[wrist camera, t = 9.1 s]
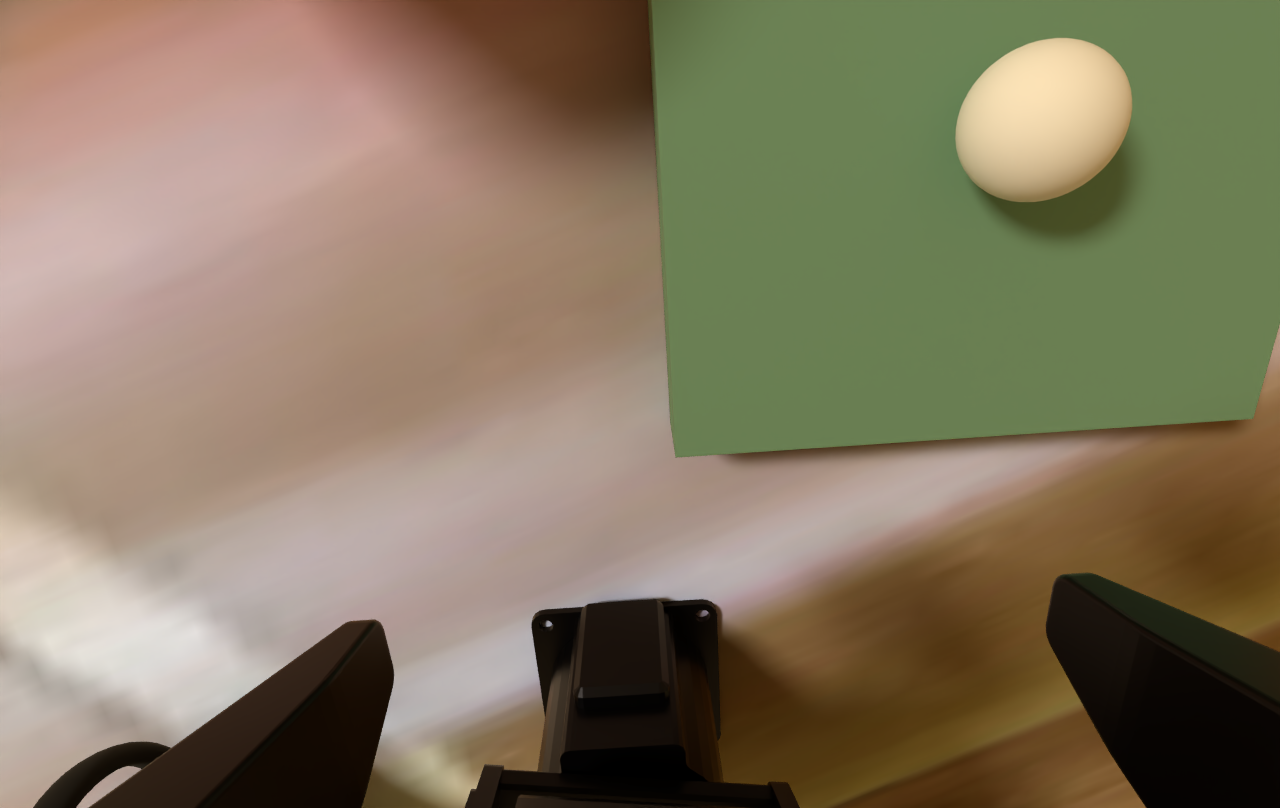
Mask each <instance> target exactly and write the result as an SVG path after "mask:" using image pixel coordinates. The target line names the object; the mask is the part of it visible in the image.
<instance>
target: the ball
mask: <svg viewBox="0 0 1280 808" xmlns="http://www.w3.org/2000/svg"><path fill="white" fill-rule="evenodd" d="M1131 114H1132V94H1131V88H1130V84H1129V81H1128V78H1127V76H1126V74H1125V72H1124V70H1123V69H1122V67H1121V65H1120V64H1119V63H1118V62H1117V61H1116V60H1115V59H1114V58H1113V57H1112V56H1111V55H1110V54H1109V53H1108V52H1106V51H1105V50H1104V49H1102V48H1100V47H1098V46H1096V45H1094V44H1092V43H1089V42H1086V41H1083V40H1078V39H1072V38H1052V39H1045V40H1039V41H1036V42H1032V43H1029V44H1026V45H1024V46H1022V47H1019V48H1017V49H1015V50H1013V51H1011V52H1009V53H1008V54H1006V55H1004V56H1003V57H1001V58H1000V59H999V60H997V61H996V62H995V63H993V64H992V65H991V66H990V67H989V68H988V69H987V70H986V71H985V72H983V74H982V75H981V76H980V77H979V78H978V80H977V81H976V82H975V83H974V85H973V86H972V88H971V89H970V91H969V92H968V94H967V96H966V98H965V99H964V101H963V104H962V106H961V109H960V112H959V115H958V119H957V124H956V135H955V140H956V149H957V154H958V157H959V160H960V163H961V165H962V167H963V169H964V170H965V172H966V174H967V175H968V176H969V177H970V179H971V180H972V181H973V182H974V183H975V184H976V185H977V186H978V187H980V188H981V189H983V190H984V191H986V192H987V193H989V194H991V195H993V196H995V197H998V198H1001V199H1005V200H1008V201H1014V202H1038V201H1044V200H1049V199H1052V198H1056V197H1059V196H1062V195H1064V194H1067V193H1069V192H1071V191H1073V190H1075V189H1077V188H1079V187H1080V186H1082V185H1084V184H1085V183H1087V182H1088V181H1089V180H1091V179H1092V178H1093V177H1094V176H1095V175H1097V174H1098V173H1099V172H1100V171H1101V170H1102V169H1103V168H1104V167H1105V166H1106V165H1107V164H1108V163H1109V162H1110V160H1111V159H1112V158H1113V157H1114V155H1115V154H1116V152H1117V151H1118V149H1119V147H1120V146H1121V144H1122V142H1123V140H1124V138H1125V135H1126V133H1127V130H1128V127H1129V124H1130V120H1131Z"/></svg>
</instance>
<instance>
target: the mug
mask: <svg viewBox="0 0 1280 808" xmlns="http://www.w3.org/2000/svg"><path fill="white" fill-rule="evenodd" d="M169 749H171V748H170V747H167V746H164V745H161V744H158V743H153V742H129V743H124V744H120V745H116V746H113V747H110V748H107V749H105V750H102V751H100V752H97V753H95V754H94V755H92V756H90V757H88V758H87V759H85V760H83V761H81V762H80V763H78V764H77V765H75V766H74V767H73V768H71V769H70V770H69V771H67V772H66V773H65V774H64V775H62V776H61V777H60V778H59V779H58V780H57V781H56V782H55V783H54V784H53V785H52V786H51V787H50V788H49V789H48V790H47V791H46V792H45V793H44V795H43V796H42V797H41V798H40V799H39V800H38V802H37V803H36V804H35V806H34V807H33V808H76V807H77V805H78V804H79V803H80V802H81V800H82V799H83V798H84V797H85V796H86V795H87V793H88V792H89V791H90V790H91V789H92V788H93V787H94V786H95V785H96V784H98V783H99V782H100V781H101V780H103V779H104V778H105V777H106V776H108V775H109V774H111V773H113V772H114V771H116V770H117V769H120V768H122V767H126V766H134V767H138V768H141V769H143V768H144V767H146V766H147V765H149V764H150V763H151V762H153V761H154V760H155V759H157V758H158V757H160V756H161V755H162V754H164V753H165V752H167V751H168V750H169Z"/></svg>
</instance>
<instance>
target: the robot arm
mask: <svg viewBox="0 0 1280 808" xmlns="http://www.w3.org/2000/svg"><path fill="white" fill-rule="evenodd" d="M700 610H706V611H708V612H709V613H708V614H707V615H706V616H704V617H698V616H697V615H696V613H697V612H698V611H700ZM543 620H548V621H550V622H552V624H553V625H552V626H550V627H543V626H542V625H541V624H540V622H541V621H543ZM1046 633H1047V638H1048V641H1049V643H1050V645H1051V647H1052V649H1053V651H1054V653H1055V655H1056V657H1057V658H1058V660H1059V662H1060V664H1061V666H1062V668H1063V669H1064V671H1065V673H1066V675H1067V677H1068V678H1069V680H1070V682H1071V684H1072V686H1073V688H1074V689H1075V691H1076V693H1077V695H1078V697H1079V699H1080V700H1081V702H1082V704H1083V706H1084V708H1085V710H1086V711H1087V713H1088V715H1089V717H1090V719H1091V720H1092V722H1093V724H1094V726H1095V728H1096V730H1097V731H1098V733H1099V735H1100V737H1101V738H1102V740H1103V742H1104V744H1105V745H1106V747H1107V749H1108V750H1109V752H1110V754H1111V755H1112V757H1113V758H1114V760H1115V761H1116V763H1117V765H1118V766H1119V768H1120V769H1121V771H1122V772H1123V774H1124V775H1125V777H1126V778H1127V780H1128V781H1129V783H1130V784H1131V786H1132V787H1133V789H1134V790H1135V792H1136V793H1137V795H1138V796H1139V798H1140V799H1141V800H1142V802H1143V803H1144V805H1145V806H1146V808H1280V652H1278V651H1276V650H1274V649H1271V648H1269V647H1267V646H1264V645H1262V644H1259V643H1257V642H1255V641H1252V640H1250V639H1248V638H1245V637H1243V636H1240V635H1238V634H1236V633H1233V632H1231V631H1229V630H1226V629H1224V628H1222V627H1219V626H1217V625H1214V624H1212V623H1210V622H1207V621H1205V620H1203V619H1200V618H1198V617H1195V616H1193V615H1191V614H1188V613H1186V612H1184V611H1181V610H1179V609H1176V608H1174V607H1172V606H1169V605H1167V604H1165V603H1162V602H1160V601H1158V600H1155V599H1153V598H1150V597H1148V596H1146V595H1143V594H1141V593H1139V592H1136V591H1134V590H1131V589H1129V588H1127V587H1124V586H1122V585H1120V584H1117V583H1115V582H1113V581H1110V580H1108V579H1105V578H1103V577H1101V576H1098V575H1096V574H1093V573H1075V574H1063V575H1060V576H1058V577H1057V578H1056V580H1055V581H1054V584H1053V588H1052V594H1051V599H1050V605H1049V610H1048V616H1047V621H1046ZM532 634H533V640H534V647H535V653H536V660H537V667H538V673H539V680H540V686H541V693H542V699H543V706H544V713H545V724H544V730H543V737H542V744H541V751H540V757H539V764H538V771H521V770H504V766H502V765H486V764H485V765H484V768H483V771H482V774H481V777H480V780H479V783H478V786H477V789H471V791H470V794H469V797H468V800H467V803H466V806H465V808H800V807H799V805H798V803H797V801H796V799H795V796H794V794H793V792H792V790H791V788H790V786H789V784H788V783H786V782H768V785H756V784H739V783H724V781H723V775H722V768H721V761H720V755H719V748H718V742H717V741H718V740H719V738H720V735H721V732H720V700H719V667H718V635H717V613H716V608H715V605H714V604H713V603H712V602H710V601H708V600H703V599H699V600H683V601H668V602H659V601H657V600H655V599H653V600H638V601H622V602H607V603H592V604H588V605H586V606H585V607H576V608H561V609H545V610H541V611H539V612H537V613H536V614H535V615H534V617H533V620H532ZM393 682H394V669H393V664H392V660H391V656H390V652H389V648H388V644H387V640H386V636H385V632H384V629H383V626H382V624H381V623H380V622H379V621H377V620H359V621H349V622H347V623H345V624H343V625H342V626H340V627H339V628H338V629H336V630H335V631H333V632H332V633H331V634H329V635H328V636H327V637H325V638H324V639H322V640H321V641H320V642H318V643H317V644H315V645H314V646H313V647H311V648H310V649H308V650H307V651H306V652H304V653H303V654H302V655H300V656H299V657H297V658H296V659H295V660H293V661H292V662H290V663H289V664H288V665H286V666H285V667H283V668H282V669H281V670H279V671H278V672H277V673H275V674H274V675H272V676H271V677H270V678H268V679H267V680H265V681H264V682H263V683H261V684H260V685H258V686H257V687H256V688H254V689H253V690H251V691H250V692H249V693H247V694H246V695H245V696H243V697H242V698H240V699H239V700H238V701H236V702H235V703H233V704H232V705H231V706H229V707H228V708H226V709H225V710H224V711H222V712H221V713H220V714H218V715H217V716H215V717H214V718H213V719H211V720H210V721H208V722H207V723H206V724H204V725H203V726H201V727H200V728H199V729H197V730H196V731H194V732H193V733H192V734H190V735H189V736H187V737H186V738H185V739H183V740H182V741H181V742H179V743H178V744H176V745H175V746H174V747H172V748H171V749H169V750H168V751H167V752H165V753H164V754H162V755H161V756H160V757H158V758H157V759H155V760H154V761H153V762H151V763H150V764H149V765H147V766H146V767H144V768H143V769H142V770H140V771H139V772H137V773H136V774H135V775H133V776H132V777H130V778H129V779H128V780H126V781H125V782H123V783H122V784H121V785H119V786H118V787H117V788H115V789H114V790H112V791H111V792H110V793H108V794H107V795H105V796H104V797H103V798H101V799H100V800H98V801H97V802H96V803H94V804H93V805H91V806H90V807H89V808H361V807H362V804H363V801H364V797H365V794H366V790H367V787H368V783H369V779H370V775H371V771H372V767H373V763H374V759H375V755H376V751H377V748H378V744H379V740H380V736H381V732H382V728H383V724H384V720H385V716H386V712H387V708H388V704H389V700H390V696H391V692H392V688H393Z"/></svg>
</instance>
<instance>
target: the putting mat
mask: <svg viewBox="0 0 1280 808" xmlns="http://www.w3.org/2000/svg"><path fill="white" fill-rule="evenodd" d="M648 18H649V37H650V55H651V74H652V92H653V111H654V129H655V148H656V166H657V184H658V203H659V221H660V240H661V258H662V277H663V295H664V314H665V332H666V351H667V369H668V388H669V406H670V424H671V430H672V437H673V443H674V450H675V456H676V457H690V456H705V455H720V454H735V453H750V452H765V451H780V450H795V449H809V448H824V447H839V446H854V445H869V444H884V443H899V442H914V441H929V440H944V439H959V438H974V437H988V436H1003V435H1018V434H1033V433H1048V432H1063V431H1078V430H1093V429H1108V428H1123V427H1138V426H1153V425H1167V424H1182V423H1197V422H1212V421H1227V420H1242V419H1253V417H1254V414H1255V410H1256V407H1257V403H1258V399H1259V396H1260V392H1261V389H1262V385H1263V382H1264V378H1265V374H1266V371H1267V367H1268V364H1269V360H1270V357H1271V353H1272V349H1273V346H1274V342H1275V339H1276V335H1277V332H1278V328H1279V324H1280V0H648ZM1052 38H1072V39H1078V40H1083V41H1086V42H1089V43H1092V44H1094V45H1096V46H1098V47H1100V48H1102V49H1104V50H1105V51H1106V52H1108V53H1109V54H1110V55H1111V56H1112V57H1113V58H1114V59H1115V60H1116V61H1117V62H1118V63H1119V64H1120V65H1121V67H1122V69H1123V70H1124V72H1125V74H1126V76H1127V78H1128V81H1129V84H1130V88H1131V94H1132V114H1131V120H1130V124H1129V127H1128V130H1127V133H1126V135H1125V138H1124V140H1123V142H1122V144H1121V146H1120V147H1119V149H1118V151H1117V152H1116V154H1115V155H1114V157H1113V158H1112V159H1111V160H1110V162H1109V163H1108V164H1107V165H1106V166H1105V167H1104V168H1103V169H1102V170H1101V171H1100V172H1099V173H1098V174H1097V175H1095V176H1094V177H1093V178H1092V179H1091V180H1089V181H1088V182H1087V183H1085V184H1084V185H1082V186H1080V187H1079V188H1077V189H1075V190H1073V191H1071V192H1069V193H1067V194H1064V195H1062V196H1059V197H1056V198H1052V199H1049V200H1044V201H1038V202H1014V201H1008V200H1005V199H1001V198H998V197H995V196H993V195H991V194H989V193H987V192H986V191H984V190H983V189H981V188H980V187H978V186H977V185H976V184H975V183H974V182H973V181H972V180H971V179H970V177H969V176H968V175H967V174H966V172H965V170H964V169H963V167H962V165H961V163H960V160H959V157H958V154H957V149H956V140H955V135H956V124H957V119H958V115H959V112H960V109H961V106H962V104H963V101H964V99H965V98H966V96H967V94H968V92H969V91H970V89H971V88H972V86H973V85H974V83H975V82H976V81H977V80H978V78H979V77H980V76H981V75H982V74H983V72H985V71H986V70H987V69H988V68H989V67H990V66H991V65H992V64H993V63H995V62H996V61H997V60H999V59H1000V58H1001V57H1003V56H1004V55H1006V54H1008V53H1009V52H1011V51H1013V50H1015V49H1017V48H1019V47H1022V46H1024V45H1026V44H1029V43H1032V42H1036V41H1039V40H1045V39H1052Z"/></svg>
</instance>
